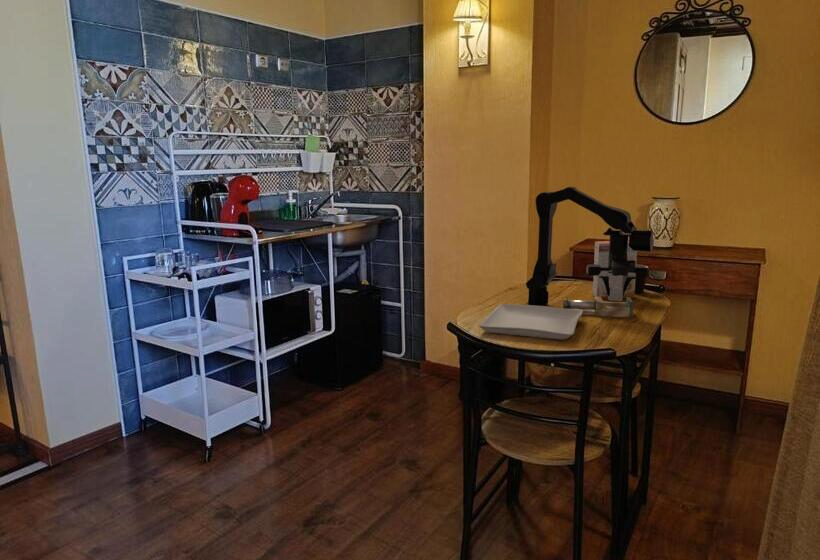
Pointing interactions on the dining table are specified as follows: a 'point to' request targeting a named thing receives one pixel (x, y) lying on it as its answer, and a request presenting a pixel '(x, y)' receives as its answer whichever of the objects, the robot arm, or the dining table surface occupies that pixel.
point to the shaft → (579, 304)
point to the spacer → (615, 293)
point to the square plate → (532, 321)
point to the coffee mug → (640, 283)
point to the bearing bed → (611, 308)
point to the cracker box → (602, 260)
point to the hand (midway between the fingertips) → (615, 296)
